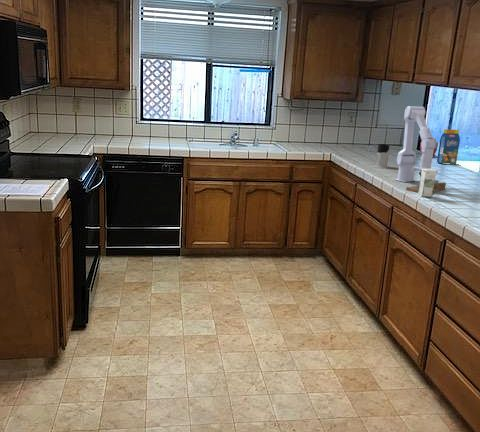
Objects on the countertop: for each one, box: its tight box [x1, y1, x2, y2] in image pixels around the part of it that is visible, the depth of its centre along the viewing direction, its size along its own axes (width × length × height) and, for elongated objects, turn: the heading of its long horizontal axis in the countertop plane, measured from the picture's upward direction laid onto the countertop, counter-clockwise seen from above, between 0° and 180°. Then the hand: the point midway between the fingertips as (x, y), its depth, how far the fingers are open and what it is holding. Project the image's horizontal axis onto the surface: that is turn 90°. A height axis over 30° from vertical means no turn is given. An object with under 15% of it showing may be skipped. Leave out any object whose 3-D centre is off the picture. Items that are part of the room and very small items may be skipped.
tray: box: [416, 179, 440, 188], centre depth 285 cm, size 12×5×5 cm, turn 127°
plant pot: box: [419, 140, 439, 158], centre depth 408 cm, size 13×13×12 cm
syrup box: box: [417, 167, 437, 198], centre depth 270 cm, size 6×6×14 cm
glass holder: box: [367, 143, 390, 169], centre depth 352 cm, size 9×14×15 cm, turn 78°
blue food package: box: [436, 128, 461, 165], centre depth 376 cm, size 6×12×25 cm, turn 101°
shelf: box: [405, 181, 447, 194], centre depth 287 cm, size 22×10×4 cm, turn 127°
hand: (422, 184), depth 288 cm, fingers closed
